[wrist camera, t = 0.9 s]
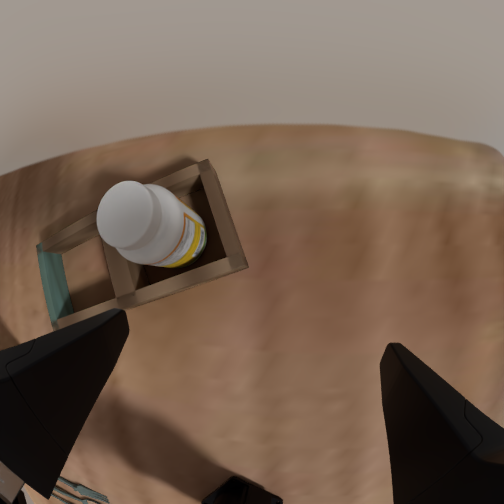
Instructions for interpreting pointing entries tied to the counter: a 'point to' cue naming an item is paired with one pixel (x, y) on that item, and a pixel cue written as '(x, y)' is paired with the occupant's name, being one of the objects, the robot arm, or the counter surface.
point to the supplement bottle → (150, 225)
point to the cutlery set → (81, 490)
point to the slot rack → (133, 274)
